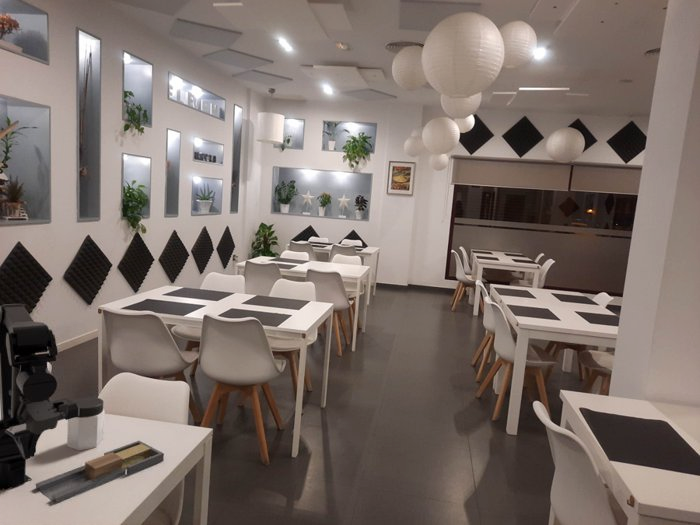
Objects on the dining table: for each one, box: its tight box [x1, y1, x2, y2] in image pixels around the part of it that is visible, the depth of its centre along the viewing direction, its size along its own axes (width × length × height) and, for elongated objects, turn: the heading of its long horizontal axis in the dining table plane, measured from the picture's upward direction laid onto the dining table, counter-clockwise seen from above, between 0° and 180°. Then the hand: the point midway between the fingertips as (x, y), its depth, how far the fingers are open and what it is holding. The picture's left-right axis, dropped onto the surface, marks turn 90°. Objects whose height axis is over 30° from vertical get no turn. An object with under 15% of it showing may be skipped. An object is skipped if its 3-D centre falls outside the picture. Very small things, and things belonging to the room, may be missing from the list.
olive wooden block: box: [115, 449, 137, 470], centre depth 128 cm, size 4×4×3 cm
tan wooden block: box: [129, 444, 151, 463], centre depth 132 cm, size 4×4×3 cm
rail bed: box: [35, 464, 127, 504], centre depth 119 cm, size 9×16×2 cm, turn 147°
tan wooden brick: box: [84, 452, 122, 479], centre depth 124 cm, size 4×7×3 cm, turn 146°
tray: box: [103, 440, 165, 476], centre depth 131 cm, size 11×10×3 cm
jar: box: [66, 396, 106, 451], centre depth 138 cm, size 9×8×12 cm
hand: (26, 458), depth 104 cm, fingers closed
